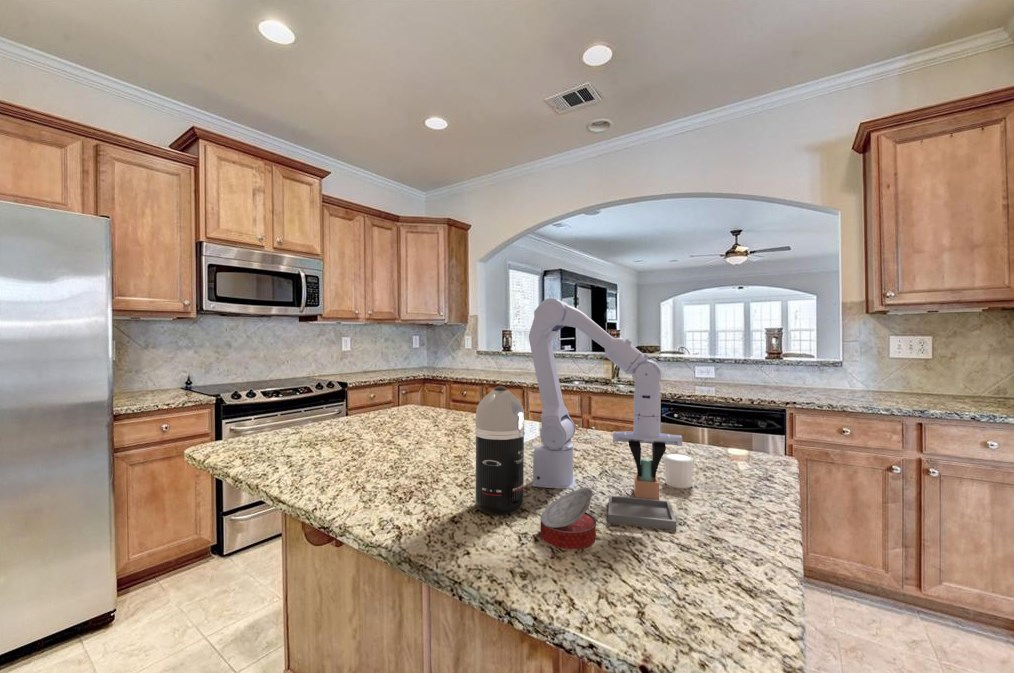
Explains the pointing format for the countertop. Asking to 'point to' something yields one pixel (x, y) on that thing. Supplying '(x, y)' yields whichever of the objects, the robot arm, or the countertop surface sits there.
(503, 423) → the black bottle
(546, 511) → the canned food
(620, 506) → the tray
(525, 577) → the countertop surface
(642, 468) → the pin
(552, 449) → the robot arm
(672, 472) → the white short cylinder
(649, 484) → the open box
